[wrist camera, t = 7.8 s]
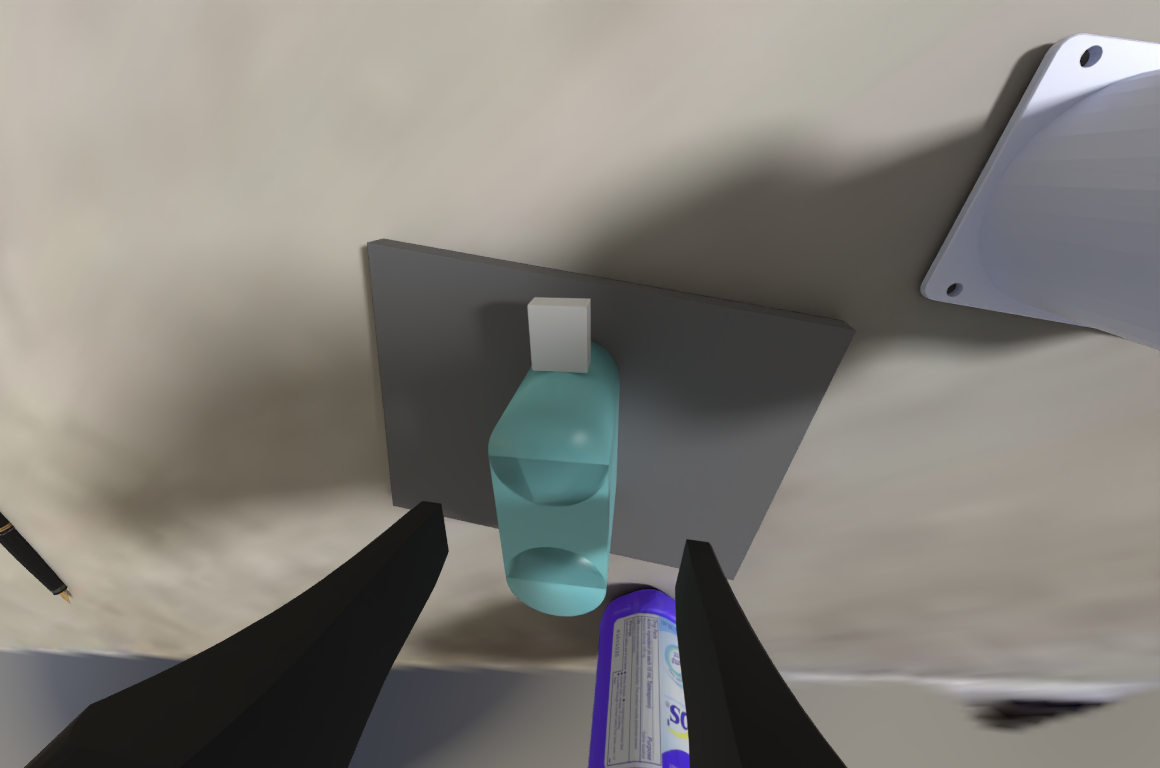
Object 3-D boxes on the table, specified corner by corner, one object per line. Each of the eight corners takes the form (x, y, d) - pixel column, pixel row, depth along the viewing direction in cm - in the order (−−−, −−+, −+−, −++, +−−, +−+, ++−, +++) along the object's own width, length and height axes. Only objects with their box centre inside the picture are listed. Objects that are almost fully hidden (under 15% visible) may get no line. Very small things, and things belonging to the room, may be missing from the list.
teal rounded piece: (623, 282, 16) (611, 334, 11) (615, 514, 22) (605, 621, 17) (525, 280, 17) (470, 329, 12) (542, 507, 23) (510, 609, 17)
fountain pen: (85, 597, 38) (65, 613, 37) (75, 596, 38) (54, 611, 37) (-29, 474, 31) (-58, 487, 30) (-40, 473, 32) (-70, 486, 30)
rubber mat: (842, 320, 17) (855, 330, 16) (729, 562, 24) (733, 580, 23) (383, 238, 18) (366, 242, 17) (403, 491, 25) (393, 505, 24)
